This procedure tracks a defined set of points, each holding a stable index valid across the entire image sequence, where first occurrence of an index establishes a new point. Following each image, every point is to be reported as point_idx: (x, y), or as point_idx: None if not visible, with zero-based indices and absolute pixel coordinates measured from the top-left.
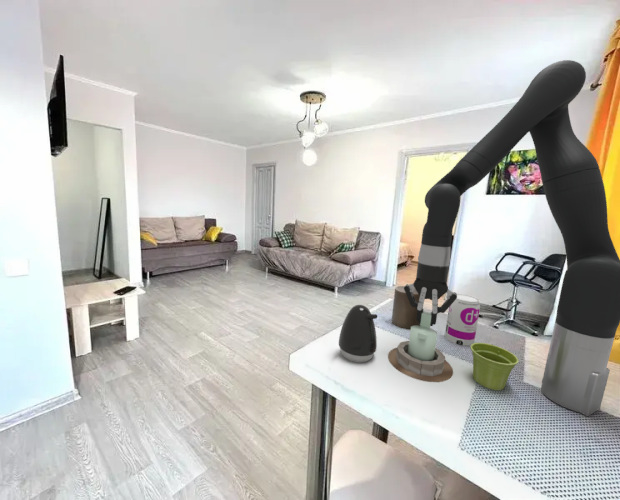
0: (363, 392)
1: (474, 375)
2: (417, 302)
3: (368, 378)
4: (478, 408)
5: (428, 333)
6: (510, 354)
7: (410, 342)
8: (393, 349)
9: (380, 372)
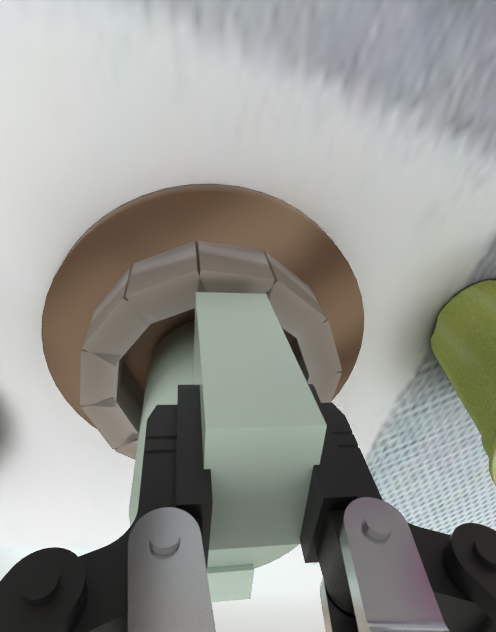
0: (61, 546)
1: (444, 364)
2: (106, 629)
3: (43, 496)
4: (392, 450)
5: (261, 550)
6: None
7: None
8: (52, 298)
9: (67, 450)
